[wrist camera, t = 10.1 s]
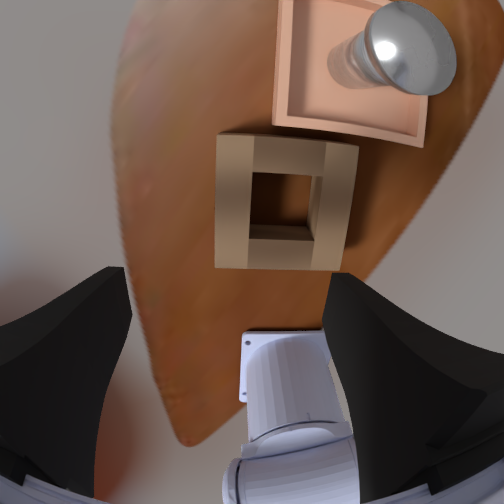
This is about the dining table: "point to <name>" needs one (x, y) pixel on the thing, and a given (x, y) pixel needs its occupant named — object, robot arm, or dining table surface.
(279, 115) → the tray
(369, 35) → the pin
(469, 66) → the dining table surface
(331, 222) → the brown square frame
